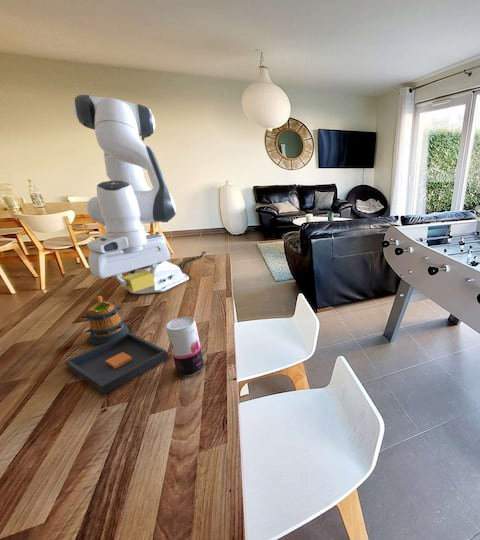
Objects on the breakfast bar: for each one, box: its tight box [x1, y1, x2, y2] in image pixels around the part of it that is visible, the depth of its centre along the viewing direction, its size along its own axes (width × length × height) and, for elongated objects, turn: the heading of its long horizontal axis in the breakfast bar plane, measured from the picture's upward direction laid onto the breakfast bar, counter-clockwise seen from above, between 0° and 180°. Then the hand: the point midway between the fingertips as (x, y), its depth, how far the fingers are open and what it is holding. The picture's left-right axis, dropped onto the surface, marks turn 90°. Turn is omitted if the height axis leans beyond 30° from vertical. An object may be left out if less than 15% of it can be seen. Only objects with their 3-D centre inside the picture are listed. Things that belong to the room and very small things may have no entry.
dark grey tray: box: [64, 331, 169, 395], centre depth 80 cm, size 16×19×2 cm
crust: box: [105, 352, 132, 369], centre depth 80 cm, size 4×4×1 cm
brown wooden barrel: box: [81, 295, 130, 346], centre depth 91 cm, size 13×10×12 cm
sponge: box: [121, 271, 155, 292], centre depth 89 cm, size 6×4×4 cm
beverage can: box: [165, 316, 205, 377], centre depth 77 cm, size 6×7×15 cm
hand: (139, 281), depth 89 cm, fingers closed on sponge, 6 cm apart
